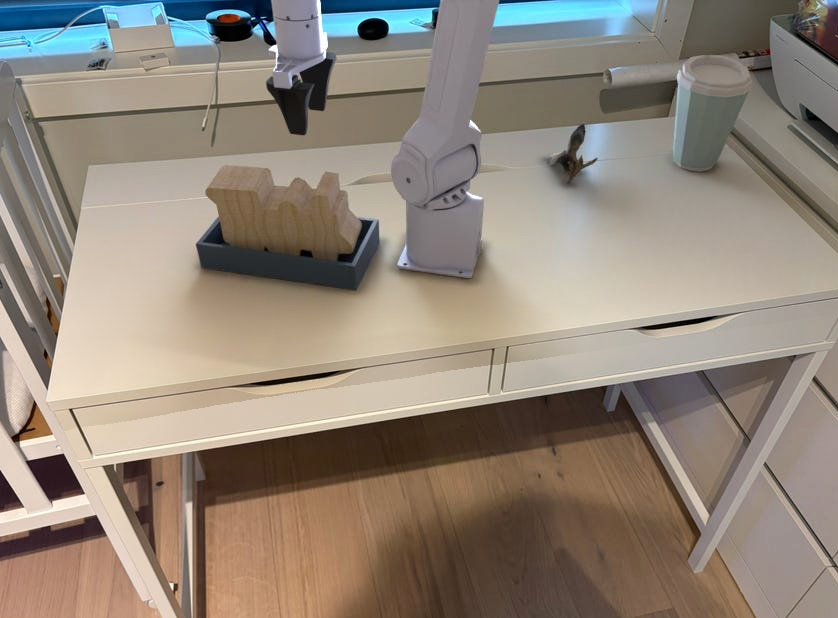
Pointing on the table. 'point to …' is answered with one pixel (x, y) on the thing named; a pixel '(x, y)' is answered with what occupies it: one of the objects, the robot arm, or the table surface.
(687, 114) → the disposable coffee cup
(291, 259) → the open box
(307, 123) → the robot arm
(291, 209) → the toy train
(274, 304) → the table surface
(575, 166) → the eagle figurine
